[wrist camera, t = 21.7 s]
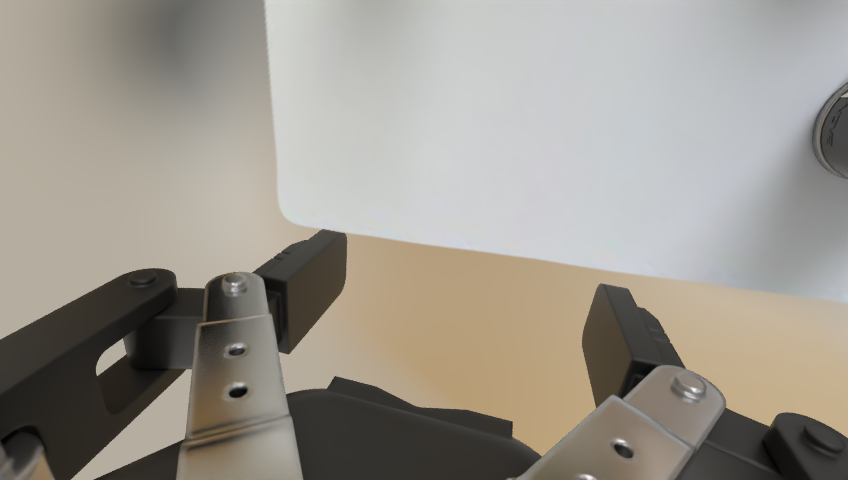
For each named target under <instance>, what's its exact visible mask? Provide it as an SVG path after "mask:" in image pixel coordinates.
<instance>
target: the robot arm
mask: <svg viewBox="0 0 848 480" xmlns="http://www.w3.org/2000/svg"><path fill="white" fill-rule="evenodd" d="M813 147H814V151H815V154H816V156H817V158H818V160H819V161H820V163H821V164H822V165H823V166H824V167H825V168H826V169H827V170H829V171H830V172H831V173H833V174H835V175H837V176H840V177H843V178H846V179H848V83H846V84H845V85H844V86H843V87H841V88H840V89H839V90H838V91H837V92H836V93H835V94H834V95H833V96H832V97H831V98H830V99H829V101H828V102H827V103H826V105H825V106H824V108H823V109H822V111H821V113H820V114H819V116H818V119H817V121H816V124H815V127H814V132H813ZM346 257H347V237H346V234H345V233H340V232H335V231H330V230H325V229H322V230H321V231H319V232H318V233H317V234H315V235H314V236H313V237H311V238H310V239H309V240H304V241H301V242H298V243H295V244H292V245H290V246H289V247H287V248H286V249H284V250H283V251H282V252H281V253H279V254H277V255H276V256H275V257H274V259H271V260H269V261H268V262H266V263H265V264H264V265H262V266H261V267H260V268H258V269H256V270H255V271H254V272H252V273H248V272H233V273H227V274H223V275H220V276H217V277H215V278H213V279H212V280H210V281H209V282H208V283H207V284H206V286H205V289H201V288H177V281H176V276H175V274H174V273H173V272H172V271H169V270H165V269H158V268H157V269H155V268H152V269H142V270H136V271H132V272H129V273H126V274H123V275H121V276H119V277H117V278H115V279H113V280H112V281H110V282H108V283H106V284H104V285H102V286H100V287H99V288H97V289H95V290H93V291H91V292H89V293H87V294H85V295H83V296H82V297H80V298H78V299H76V300H74V301H72V302H70V303H68V304H67V305H65V306H63V307H61V308H59V309H57V310H55V311H53V312H51V313H50V314H48V315H46V316H44V317H42V318H40V319H38V320H36V321H35V322H33V323H31V324H29V325H27V326H25V327H23V328H21V329H19V330H18V331H16V332H14V333H12V334H10V335H8V336H6V337H4V338H3V339H1V340H0V480H71V479H72V478H73V477H74V476H75V475H76V474H77V473H78V472H79V471H80V470H81V469H82V468H83V467H84V466H86V465H87V464H88V463H89V462H90V461H91V460H92V459H93V458H94V457H95V456H96V455H97V454H98V453H99V452H100V451H101V450H102V449H103V448H104V447H106V446H107V445H108V444H109V442H111V441H112V440H113V439H114V438H115V437H116V436H117V435H118V434H119V433H120V432H121V431H122V430H123V429H124V428H125V427H127V425H129V424H130V423H131V422H132V421H133V420H134V419H135V418H136V417H137V416H138V415H139V414H140V413H141V412H142V411H143V410H144V409H146V408H147V407H148V406H149V404H151V403H152V402H153V401H154V400H155V399H156V398H157V397H158V396H159V395H160V394H161V393H162V392H163V391H164V390H166V389H167V388H168V386H170V385H171V384H172V383H173V382H174V381H175V380H176V379H177V378H178V377H179V376H180V375H181V374H182V373H183V372H184V371H185V370H186V369H192V376H191V386H190V396H189V406H188V416H187V425H186V435H185V439H184V440H181V441H179V442H177V443H175V444H172V445H170V446H168V447H166V448H164V449H161V450H159V451H157V452H155V453H152V454H150V455H148V456H146V457H143V458H141V459H139V460H137V461H134V462H132V463H130V464H128V465H125V466H123V467H121V468H119V469H117V470H114V471H112V472H110V473H108V474H105V475H103V476H101V477H99V478H96V479H94V480H848V438H847V437H845V436H844V435H842V434H841V433H839V432H838V431H836V430H834V429H833V428H831V427H829V426H827V425H825V424H823V423H821V422H819V421H817V420H815V419H812V418H810V417H807V416H803V415H800V414H796V413H780V414H778V415H777V416H776V417H775V419H774V421H773V422H772V424H771V426H770V427H769V426H767V425H764V424H762V423H759V422H757V421H754V420H752V419H750V418H747V417H745V416H743V415H740V414H738V413H735V412H733V411H731V410H729V409H727V408H725V407H726V400H725V398H724V396H723V394H722V393H721V392H720V390H719V389H718V388H717V387H716V386H715V385H713V384H712V383H711V382H709V381H708V380H707V379H705V378H704V377H702V376H700V375H698V374H696V373H694V372H692V371H690V370H687V369H686V368H685V366H684V365H683V363H682V361H681V359H680V358H679V356H678V354H677V352H676V351H675V349H674V347H673V346H672V344H671V343H670V340H669V338H668V337H667V335H666V334H665V333H664V330H663V328H662V326H661V324H660V323H659V321H658V319H656V318H655V317H654V316H653V315H652V314H650V313H649V312H648V311H647V310H646V309H645V308H640V307H637V305H636V303H635V301H634V299H633V297H632V295H631V293H630V291H629V290H628V289H627V288H622V287H617V286H612V285H606V284H600V285H599V286H598V287H597V290H596V292H595V295H594V299H593V302H592V305H591V308H590V311H589V314H588V317H587V321H586V323H585V327H584V331H583V337H582V348H583V352H584V357H585V361H586V365H587V370H588V374H589V379H590V383H591V387H592V392H593V396H594V400H595V404H596V409H595V410H594V411H593V412H592V413H591V414H590V415H588V416H587V417H586V418H585V419H584V420H583V421H582V422H581V423H580V424H578V425H577V426H576V427H575V428H574V429H573V430H572V431H571V432H569V433H568V434H567V435H566V436H565V437H564V438H563V439H562V440H560V441H559V442H558V443H557V444H556V445H555V446H554V447H553V448H552V449H550V450H549V451H548V452H547V453H546V454H545V455H544V456H543V457H542V456H540V455H539V454H538V453H537V452H535V451H534V450H532V449H531V448H530V447H528V446H527V445H525V444H524V443H522V442H520V441H519V440H517V439H515V438H513V437H512V427H513V424H512V423H513V422H512V421H508V420H503V419H500V418H496V417H492V416H488V415H484V414H480V413H477V412H473V411H469V410H459V409H439V408H421V407H416V406H414V405H412V404H410V403H408V402H406V401H403V400H402V399H400V398H398V397H396V396H394V395H392V394H390V393H388V392H386V391H384V390H382V389H380V388H378V387H375V386H372V385H368V384H364V383H360V382H356V381H352V380H348V379H344V378H340V377H336V376H335V377H334V379H333V380H332V382H331V384H330V385H329V386H328V388H327V389H309V390H302V391H297V392H293V393H289V394H286V392H285V387H284V381H283V375H282V370H281V364H280V358H279V352H282V353H285V354H290V352H291V351H292V350H293V349H294V348H295V347H296V346H297V344H298V343H299V342H300V341H301V340H302V338H303V337H304V336H305V335H306V334H307V333H308V331H309V330H310V329H311V328H312V327H313V325H314V324H315V323H316V322H317V321H318V320H319V318H320V317H321V316H322V315H323V314H324V312H325V311H326V310H327V309H328V308H329V306H330V305H331V304H332V303H333V302H334V301H335V299H336V298H337V297H338V296H339V295H340V293H341V291H342V290H343V287H344V284H345V279H346V259H347V258H346ZM122 338H123V341H124V344H125V349H126V353H127V354H126V355H125V356H124V357H122V358H121V359H120V360H118V361H117V362H116V363H114V364H113V365H112V366H110V367H109V368H108V369H106V370H105V371H104V372H103V373H101V374H100V375H98V376H97V375H96V365H97V362H98V360H99V358H100V356H101V355H102V354H103V352H104V351H105V350H107V349H108V348H109V347H111V346H112V345H113V344H115V343H116V342H118V341H119V340H121V339H122Z"/></svg>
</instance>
